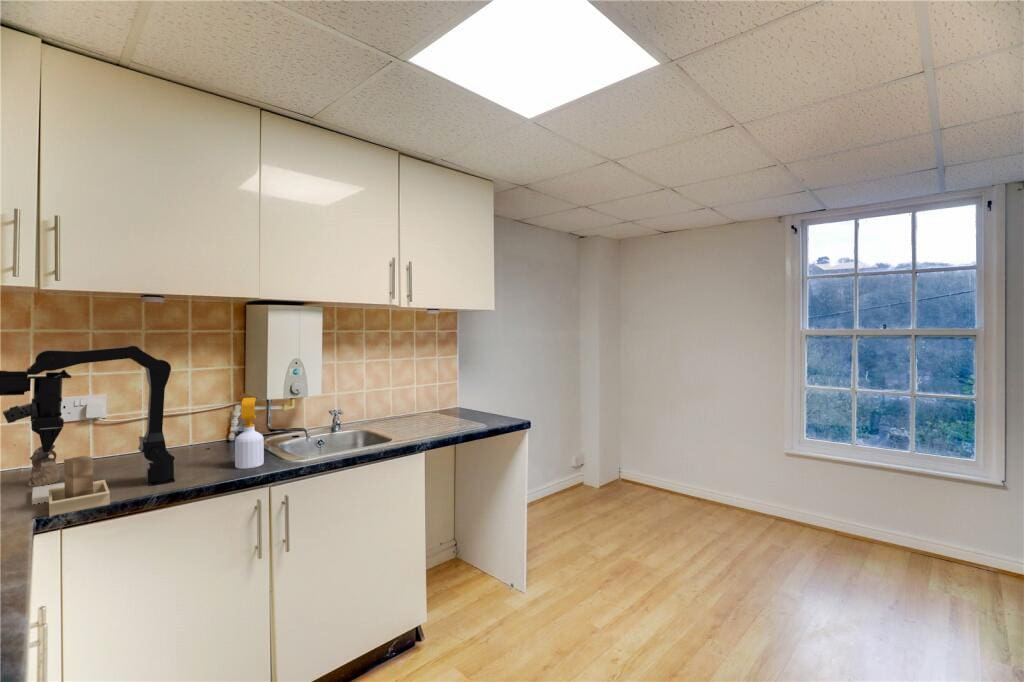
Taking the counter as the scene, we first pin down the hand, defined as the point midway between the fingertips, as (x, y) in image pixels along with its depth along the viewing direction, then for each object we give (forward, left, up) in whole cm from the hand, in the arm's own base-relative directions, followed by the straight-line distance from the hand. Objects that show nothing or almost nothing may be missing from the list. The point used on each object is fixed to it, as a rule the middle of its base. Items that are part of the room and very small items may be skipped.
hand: (45, 449), depth 134 cm
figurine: (0, -25, -16) cm, 29 cm away
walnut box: (-7, +7, -15) cm, 18 cm away
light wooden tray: (-7, +7, -15) cm, 18 cm away
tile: (-2, -8, -15) cm, 17 cm away
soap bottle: (-53, -1, -16) cm, 55 cm away
